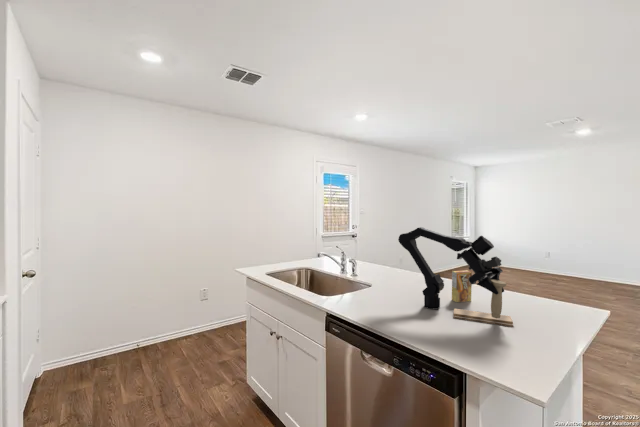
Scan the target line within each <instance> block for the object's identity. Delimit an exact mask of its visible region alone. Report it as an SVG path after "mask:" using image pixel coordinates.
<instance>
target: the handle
mask: <svg viewBox="0 0 640 427" xmlns="http://www.w3.org/2000/svg"><path fill="white" fill-rule="evenodd" d="M491 282H492V284H493V285H494V286H495V288H496V289H497V291H498V293H499V294H497V295H496V294H494V293H493V292H491V301H490V312H491V315H492V317H493V318H500V315H502V310H503V292H502V288H503V289H504V288H505V287H507V282H505V281H502V280H500V279H499V280H491Z"/></svg>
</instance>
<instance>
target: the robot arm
mask: <svg viewBox="0 0 640 427" xmlns="http://www.w3.org/2000/svg"><path fill="white" fill-rule="evenodd" d="M420 237H422V238H425V239H428V240H431V241H434V242H437V243H440V244H442V245H444V246H445V247H447V248H448V249H450V250H452V251H454V252H457V253H456V254H457V256H456V260H462V259H463V260H464V262H465V263H466V264H467V265H468V271H471V270H472V271H473V273H472V276H471V277H469V282H470V283H471V284H472V285H477V286H479V287H482V288H484V289H486V290H487V291H489V292H491V293H492V292H493V293H494V294H496V295H497V294H499V293H498V291H497V289H496V288H495V286H494V285H493V284H492V282H491V280H500V275H501V273H503V269H502V268H501V267H500V266H502V263H501V262H502V259H501V258H500V257H498V256H492V257H491V258H490V259H489V260H486V259H484V258H483V259H482V258H481V257H480V256H479V255H481V256H484V255H485V254H487V253H488V252H489V251H491V250H493V249H494V248H495V246H494V244H493V243H492V242H491V241H490V240H488V239H487V238H486V237H484V236H483V235H480V236H478V237H477V238H476V239H475V240H474V241H473V242H472V241H467V240H466V239H464V238H463V237H458V236H450V235H445V234H442V233H439V232H435V231H433V230H431V229H430V230H429V229H427V228H425V227H422V226H420V227H416V228H415V229H413V230H411V231H409V232H406V233H401V234H399V236H398V242H399V244H400V245H401V246H402V247H403V248H404V249H405V250H406V251H408V253H409V254H410V256H411V258H412V259H413V261H414V262H415V265H416V266H417V267H418V269H419V271H420V272H421V274H422V275H423V278H424V283H425V286H426V287H424V288H423V290H422V296H424V298H423V299H424V301H423V302H424V305H423V308H424V309H429V310H439V309H440V307H441V297H440V293H441V291H442V290H444V288H445V283H444V282H445V280H444V279H442V276H441V275H440V273H437V274H436V273H434V272H433V270H432V268H431V267H430V266H429V263H428V262H427V261H426V259H425V257H424V256H423V254H422V252H421V251H420V249H419V248H418V244H417V239H418V238H420ZM461 251H462V252H461ZM460 252H461V253H460ZM476 282H478V283H476ZM504 292H505V290H504V287H503V288H502V293H504Z"/></svg>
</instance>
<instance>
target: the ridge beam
mask: <svg viewBox="0 0 640 427" xmlns="http://www.w3.org/2000/svg"><path fill="white" fill-rule="evenodd" d="M452 317H453V319H457V320H462V321H463V320H465V321H470V322H477V323H483V324H490V325H491V324H492V325H496V326H503V327H504V326H505V327H510V328H514V322H513V318H512V316H511V315H506V314H505V315H504V314H500V318H493V317H492V315H491V313H489V312H482V311H474V310H469V309H462V308H461V309H459V308H453V316H452Z"/></svg>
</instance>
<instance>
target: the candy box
mask: <svg viewBox="0 0 640 427" xmlns="http://www.w3.org/2000/svg"><path fill="white" fill-rule="evenodd" d="M472 275H473V273H472V271H471V270H467V269H466V270H452V271H451V301H453V302H455V303H463V302H465V303H466V302H472V284H471V283H470V282H469V277H471V276H472Z"/></svg>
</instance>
